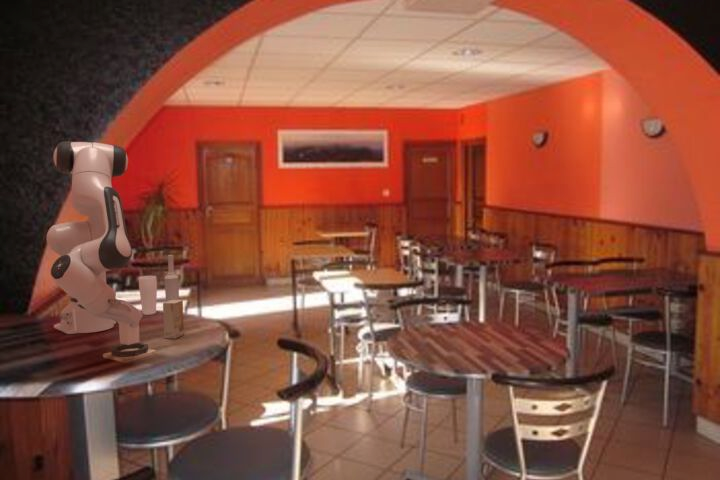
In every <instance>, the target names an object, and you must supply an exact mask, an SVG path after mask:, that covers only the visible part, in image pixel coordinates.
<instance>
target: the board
mask: <svg viewBox="0 0 720 480" xmlns="http://www.w3.org/2000/svg"><path fill="white" fill-rule="evenodd" d="M157 354H158V350H157V349H152V348H149V344H147V343H143V342H138V343H134V344H130V345H126V344H119V345H115V346H113V347H112V349H111V350H110V351H109V352H106V353H103V354H102V357H103V358H104V359H109V360H113V361H117V362H120V363H125V364H128V363H130V362H133V361H134V362H135V361H137V360H140V359H144V358H147V357H150V356H153V355H157Z"/></svg>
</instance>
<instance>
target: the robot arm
mask: <svg viewBox="0 0 720 480" xmlns="http://www.w3.org/2000/svg"><path fill="white" fill-rule="evenodd" d="M52 157H53V163H54V166H55V167H56V170H58V171H59V172H60V173H63V174H66V175H70V174H72V175H71V176H72V177H71V199H70V204H71V207H72V208H73V209H74V210H75V211H76V212H77V213H79V214H81V215H82V216H86V217H87V218H88V220H85V221H68V222H67V221H66V222H62V223H57V224H53V225H52V226H51V227H50V228H49V229H48V231H47V233H46V242H47V245H48V247H49V249H50V250H51V251H52V252H53V253H55V254H57V255H59V257H58V258H57V259H55V261H54V262H53V264H52V265H51V268H50V277H51V278H52V280H53V281H54V283H55V284H56V285H57V286H58V287H60V289H61V290H62V291H64V292H65V293H66V295H68V296H70V302H69V303H68V304H67V305H66V306H65V307H64V308H63V309H62V310H61V311H60V314H59V318H60V322H58V323H56V324H53V328H54V329H55V330H57V331H61V332H62V333H65V334H66V335H75V334H89V333H97V332H102V331H106V330H110V329H112V328H114V327H115V326H114V325H116V324H119V321H121V322H126V323H129V324H130V326H131V327H133V328H137V327H138V325H139V326H140V321H141V319H142V318H143V317H144V314H143V313H142V310H139V308H137V307H136V306H134V305H133V304H132V303H131V302H128V301H126V300H123V299H117V298H116V297H117V291H116V290H114V288H112V287H111V286H110V285H109V284H108V283H107V272H108V271H113V270H116V269H121V268H122V269H123V268H125V267H126V266H127V265H128V264H129V262H130V261H131V257H132V254H133V249H132V245H131V241H130V240H129V237H128V236H129V235H128V231H127V227H126V220H125V213H124V209H123V203H122V199H121V196H120V194H119V192H118V190H117V189H115V188H114V187H113V186H112V178H117V177H121V176H123V175H124V174H125V172H126V170H127V168H128V166H129V165H128V164H129V158H128V155H127V152H126V149H125V148H124V147H122V146H120V145H117V144H113V145H111V144H107V143H103V142H102V143H101V142H94V141H93V142H90V141H89V142H88V141H71V140H68V141H67V140H65V141H61V142H59V143H58V144H57V146H56V147H55V149H54V152H53V156H52ZM138 322H139V323H138Z"/></svg>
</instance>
